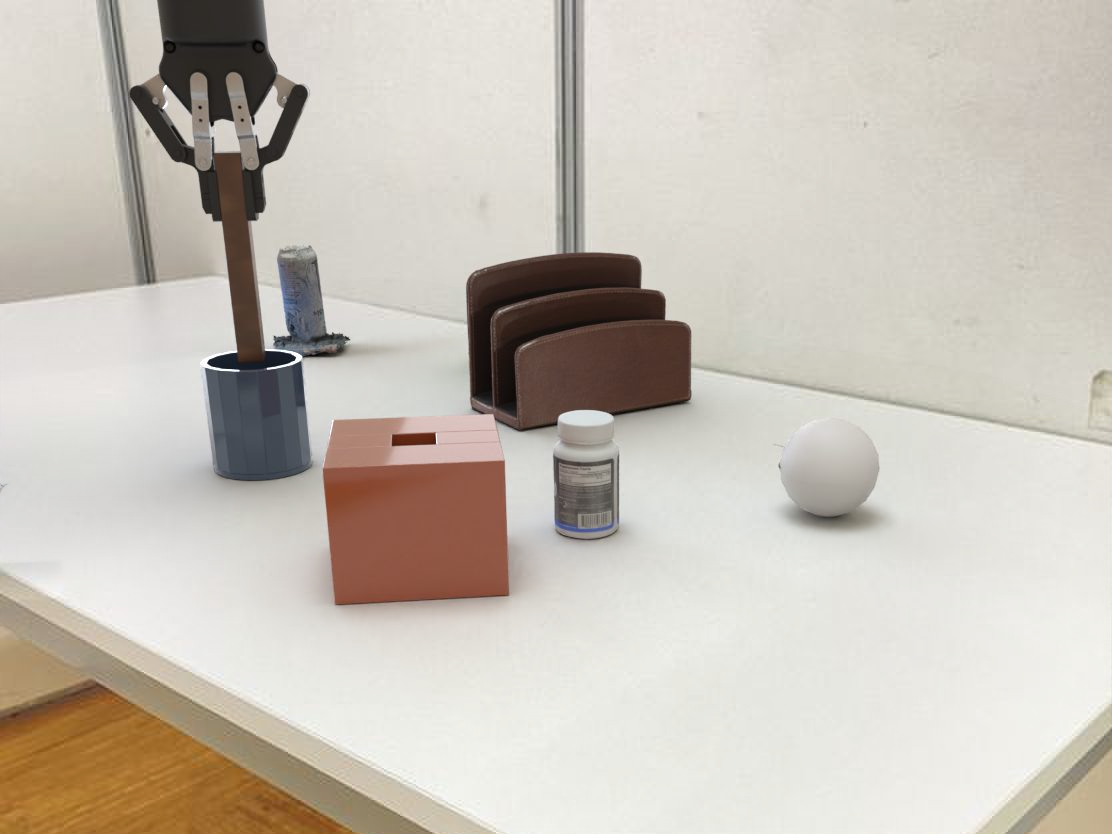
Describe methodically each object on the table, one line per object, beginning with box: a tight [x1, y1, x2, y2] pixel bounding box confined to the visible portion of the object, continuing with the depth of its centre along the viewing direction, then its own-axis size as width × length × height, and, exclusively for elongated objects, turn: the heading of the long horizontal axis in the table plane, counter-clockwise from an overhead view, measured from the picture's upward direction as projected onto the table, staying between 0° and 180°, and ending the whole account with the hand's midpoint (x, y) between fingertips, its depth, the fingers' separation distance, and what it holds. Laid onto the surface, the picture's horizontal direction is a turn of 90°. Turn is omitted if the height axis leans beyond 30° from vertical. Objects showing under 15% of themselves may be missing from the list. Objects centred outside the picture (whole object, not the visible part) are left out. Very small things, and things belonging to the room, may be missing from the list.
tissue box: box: [321, 413, 510, 605], centre depth 83 cm, size 11×11×9 cm
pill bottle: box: [552, 410, 620, 540], centre depth 90 cm, size 5×5×8 cm
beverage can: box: [272, 244, 351, 358], centre depth 144 cm, size 9×8×12 cm
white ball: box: [771, 417, 881, 518], centre depth 94 cm, size 10×7×7 cm
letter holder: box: [465, 251, 693, 431], centre depth 121 cm, size 10×20×14 cm, turn 123°
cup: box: [199, 348, 313, 481], centre depth 104 cm, size 8×8×9 cm
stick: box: [214, 150, 266, 362], centre depth 99 cm, size 2×2×16 cm
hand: (235, 219), depth 98 cm, fingers closed on stick, 2 cm apart
